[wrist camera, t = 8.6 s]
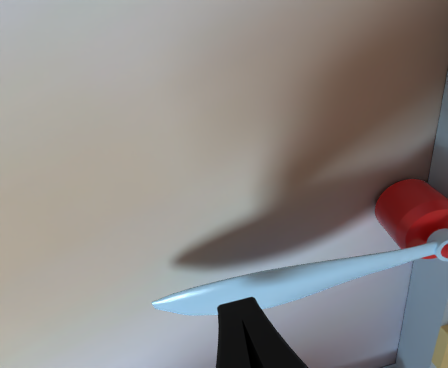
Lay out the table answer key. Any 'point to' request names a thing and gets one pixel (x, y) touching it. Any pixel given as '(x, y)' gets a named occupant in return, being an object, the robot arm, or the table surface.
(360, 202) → the table surface
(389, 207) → the propeller
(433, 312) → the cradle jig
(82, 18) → the table surface
